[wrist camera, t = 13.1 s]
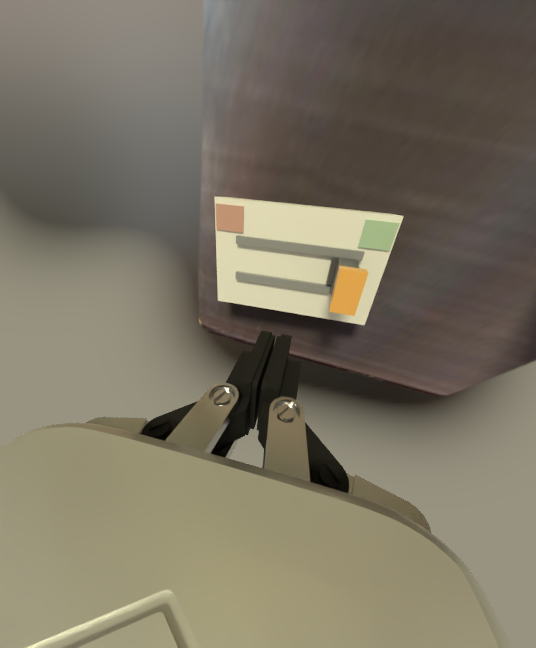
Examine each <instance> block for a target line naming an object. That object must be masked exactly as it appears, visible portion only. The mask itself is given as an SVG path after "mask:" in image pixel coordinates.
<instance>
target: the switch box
mask: <svg viewBox="0 0 536 648" xmlns="http://www.w3.org/2000/svg"><path fill="white" fill-rule="evenodd" d="M402 219H403V216H400V215H395V214H388V213H378V212H368V211H359V210H349V209H339V208H329V207H320V206H310V205H300V204H290V203H280V202H271V201H261V200H251V199H241V198H232V197H215V223H216V253H217V283H218V301H224V302H230V303H236V304H242V305H248V306H254V307H259V308H265V309H271V310H277V311H283V312H289V313H295V314H301V315H307V316H313V317H319V318H324V319H330V320H336V321H342V322H348V323H354V324H360V325H365V322H366V319H367V317H368V314H369V311H370V308H371V305H372V303H373V300H374V297H375V294H376V291H377V289H378V286H379V283H380V280H381V278H382V275H383V272H384V269H385V266H386V264H387V261H388V258H389V255H390V253H391V250H392V247H393V244H394V241H395V239H396V236H397V233H398V230H399V227H400V225H401V222H402ZM338 257H340V258H347V259H355V261H356V262H358V264H359V265H358V266H359V267H360V269H366V270H367V271H368V276H367V279H366V282H365V285H364V288H363V291H362V295H361V298H360V301H359V304H358V307H357V310H356V313H355V316H352V315H345V314H339V313H333V312H329V304H330V300H331V291H330V287H331V285H329V284H326V280H327V276H328V272H329V267H330V263H331V259H336V260H337V259H338Z"/></svg>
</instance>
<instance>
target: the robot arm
mask: <svg viewBox="0 0 536 648" xmlns="http://www.w3.org/2000/svg"><path fill="white" fill-rule="evenodd" d="M291 337H292V336H289V335H284V334H282V335H281V337H280V336H277V339H276V342H275V345H274V340H275V335H272V332H268V331H263V330H262V331H261V333H260V335H259V337H258V339H257V342H256V344H255V346H254V348H253V350H252V352H250V351H243V352H242V353H241V355H240V357H239V359H238V361H237V363H236V365H235V366H234V368H233V370H232V372H231V374H230V376H229V378H228V380H227V381H226V383H218V384H215V385H213V386H211V387H210V388H209V389H208V390H207V391H206V392H205V393H204V395H203V396H202V397H201V398H200V399H199V401H197V402H195V403H192V404H190V405H187V406H184V407H182V408H179V409H177V410H174V411H172V412H169V413H167V414H164V415H162V416H159V417H157V418H155V419H153V420H151V421H147V419H146V418H113V417H112V418H111V417H109V418H108V417H101V418H95V419H93V420H90V421H88V422H87V423H65V424H56V425H50V426H45V427H41V428H37V429H34V430H31V431H28V432H25V433H24V434H22V435H20V436H18V437H16V438H14V439H12V440H11V441H9V442H7V443H6V444H5V445H3V446H1V447H0V648H512V646H511V644H510V642H509V640H508V638H507V636H506V633H505V632H504V629H503V627H502V625H501V623H500V621H499V619H498V617H497V615H496V613H495V611H494V609H493V607H492V605H491V603H490V601H489V600H488V598H487V596H486V594H485V593H484V591H483V589H482V587H481V586H480V584H479V582H478V581H477V579H476V578H475V577H474V575H473V574H472V572H471V571H470V569H469V568H468V567H467V566H466V565H465V563H464V562H463V561H462V560H461V559H460V558H459V557H458V556H457V555H456V554H455V553H454V552H453V551H452V550H451V549H450V548H449V547H448V546H446V545H445V544H444V543H443V542H442V541H441V540H439V539H438V538H437V537H435V536H434V535H433V534H432V533H431V530H430V527H429V524H428V522H427V520H426V519H425V517H424V515H423V514H422V513H421V512H420V511H419V510H418V509H417V508H416V507H415V506H413V505H412V504H411V503H409V502H408V501H406V500H404V499H402V498H400V497H398V496H396V495H394V494H392V493H390V492H388V491H386V490H384V489H382V488H380V487H378V486H376V485H374V484H372V483H371V482H369V481H367V480H365V479H363V478H361V477H359V476H357V475H355V476H354V477H353V476H351V475H349V474H347V473H346V472H345V470H344V469H343V467H342V466H341V465H340V464H339V462H338V461H337V460H336V459H335V457H334V456H333V455H332V454H331V453H330V451H329V450H328V449H327V448H326V447H325V446H324V444H323V443H322V442H321V441H320V440H319V438H318V437H317V436H316V435H315V434H314V432H313V431H312V430H311V429H310V428H309V426H308V425H307V424H306V423H305V417H304V410H303V407H302V406H301V404H300V403H299V402H298V401H297V400H296V397H297V390H298V382H299V375H300V367H301V362H298V361H293V360H288V355H289V349H290V343H291ZM257 417H258V424H257V430H259V435H258V440H259V442H260V443H261V445H262V446H263V448H264V454H263V466H262V468H259V467H256V466H252V465H249V464H245V463H242V462H238V461H235V460H231V459H229V457H230V455H231V454H232V452H233V450H234V448H235V446H236V443H237V441H238V439H239V438H241V437H243V436H245V434H246V435H248V433H249V430H250V428H251V429H254V427H255V424H256V420H257Z"/></svg>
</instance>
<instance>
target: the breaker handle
mask: <svg viewBox="0 0 536 648" xmlns="http://www.w3.org/2000/svg"><path fill="white" fill-rule="evenodd" d="M358 265H359V264H358V262H356V261H355V259H347V258H340V257H338V259H337V260H336V259H331V263H330V267H329V272H328V276H327V280H326V284H329V285H331V287H330V291H331V300H330V304H329V312H333V313H339V314H345V315H352V316H355V313H356V310H357V307H358V304H359V301H360V298H361V295H362V291H363V288H364V285H365V282H366V279H367V276H368V271H367V270H366V269H360V267H359V266H358Z"/></svg>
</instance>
